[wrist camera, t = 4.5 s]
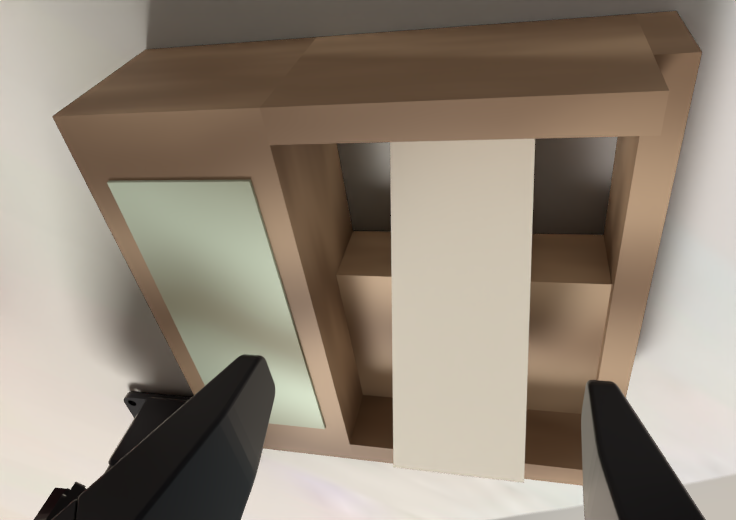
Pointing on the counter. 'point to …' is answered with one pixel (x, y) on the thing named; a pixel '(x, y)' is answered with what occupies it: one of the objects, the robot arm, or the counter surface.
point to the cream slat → (461, 304)
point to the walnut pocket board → (373, 248)
